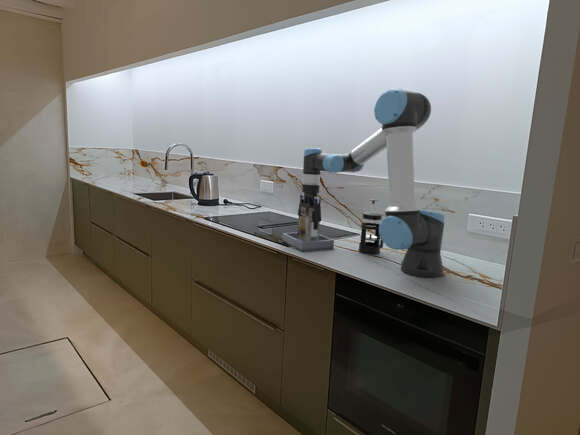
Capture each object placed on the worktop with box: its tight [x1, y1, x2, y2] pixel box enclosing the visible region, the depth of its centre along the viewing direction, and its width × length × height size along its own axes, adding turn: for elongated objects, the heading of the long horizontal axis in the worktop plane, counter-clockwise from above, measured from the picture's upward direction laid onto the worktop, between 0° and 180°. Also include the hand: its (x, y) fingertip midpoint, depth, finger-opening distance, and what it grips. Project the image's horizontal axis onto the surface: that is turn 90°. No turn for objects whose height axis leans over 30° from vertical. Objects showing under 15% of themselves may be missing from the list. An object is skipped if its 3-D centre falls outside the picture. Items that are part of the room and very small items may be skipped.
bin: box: [282, 231, 335, 253], centre depth 183 cm, size 18×16×4 cm
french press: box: [357, 198, 384, 255], centre depth 175 cm, size 12×9×23 cm
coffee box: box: [297, 202, 321, 242], centre depth 181 cm, size 9×6×16 cm
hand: (308, 234), depth 182 cm, fingers closed on coffee box, 9 cm apart
